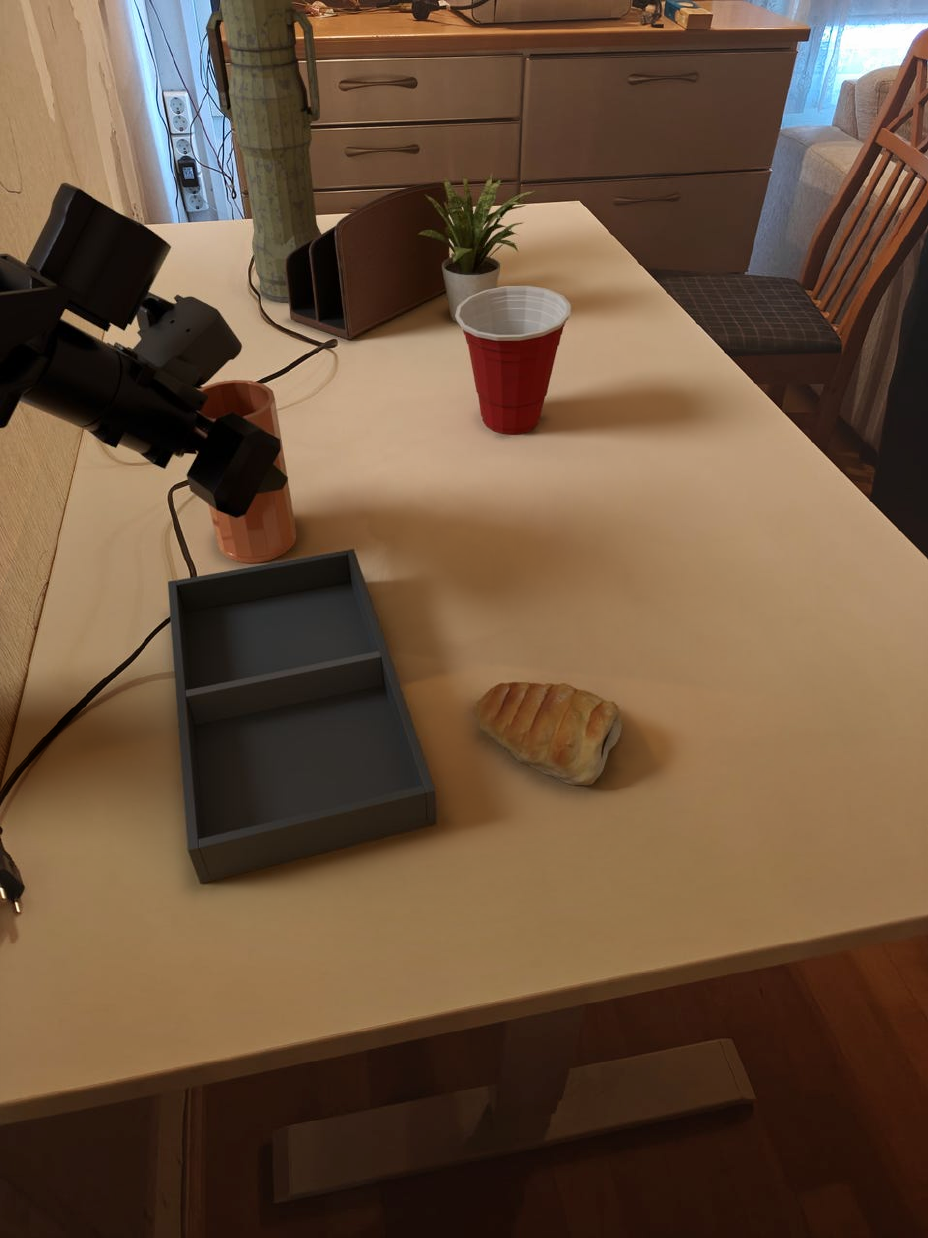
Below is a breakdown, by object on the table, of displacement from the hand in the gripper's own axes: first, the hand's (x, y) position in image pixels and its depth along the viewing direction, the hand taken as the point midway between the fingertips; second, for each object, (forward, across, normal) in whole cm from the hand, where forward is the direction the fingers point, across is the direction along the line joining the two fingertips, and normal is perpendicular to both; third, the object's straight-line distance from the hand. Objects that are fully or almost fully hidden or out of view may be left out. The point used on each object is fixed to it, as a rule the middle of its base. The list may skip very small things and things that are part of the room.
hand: (259, 466), depth 70 cm
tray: (-3, -18, +12) cm, 22 cm away
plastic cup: (+25, -1, -15) cm, 29 cm away
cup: (+4, 0, +6) cm, 7 cm away
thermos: (+29, +43, -19) cm, 55 cm away
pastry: (+4, -32, +5) cm, 33 cm away
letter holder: (+32, +31, -22) cm, 50 cm away
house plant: (+36, +19, -26) cm, 48 cm away
